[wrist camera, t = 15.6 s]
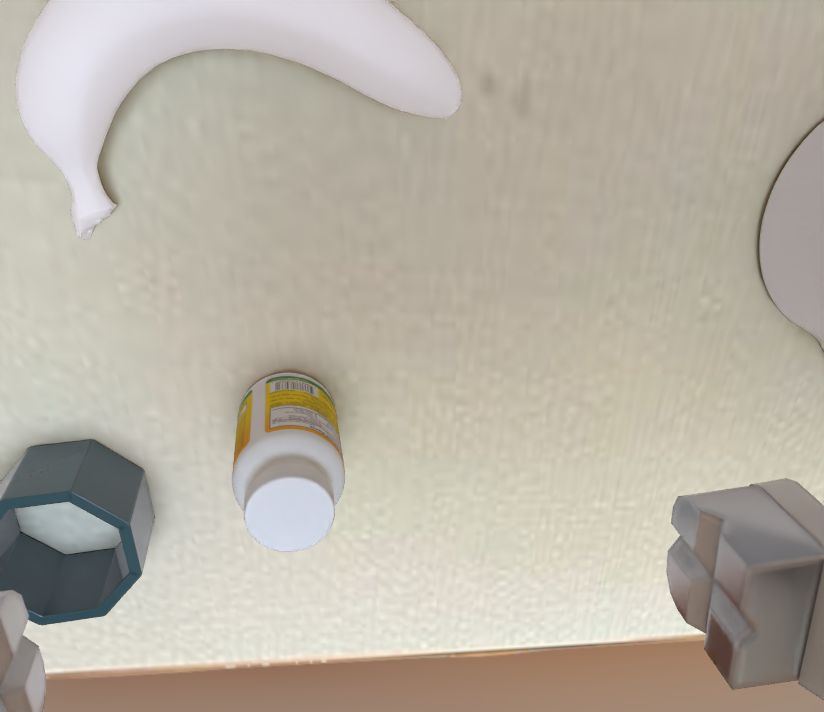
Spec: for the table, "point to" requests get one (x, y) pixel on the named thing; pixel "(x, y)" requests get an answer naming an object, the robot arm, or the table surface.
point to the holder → (93, 492)
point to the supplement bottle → (288, 461)
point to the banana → (195, 31)
